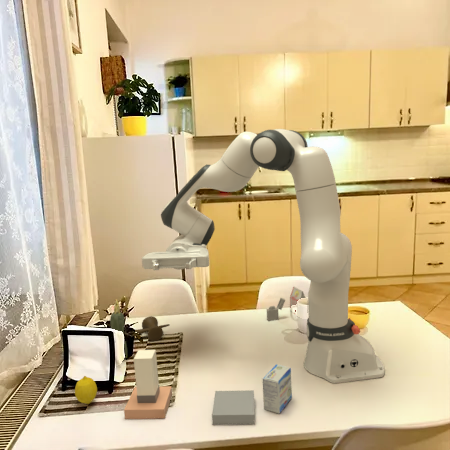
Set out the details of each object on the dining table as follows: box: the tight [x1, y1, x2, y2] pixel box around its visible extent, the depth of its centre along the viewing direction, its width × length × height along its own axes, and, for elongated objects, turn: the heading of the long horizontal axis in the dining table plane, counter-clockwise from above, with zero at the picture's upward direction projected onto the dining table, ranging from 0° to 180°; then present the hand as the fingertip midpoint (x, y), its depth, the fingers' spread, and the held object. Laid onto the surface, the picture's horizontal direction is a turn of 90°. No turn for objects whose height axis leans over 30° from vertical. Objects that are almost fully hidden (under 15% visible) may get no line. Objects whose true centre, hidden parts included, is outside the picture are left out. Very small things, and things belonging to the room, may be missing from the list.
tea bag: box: [289, 286, 307, 312], centre depth 161 cm, size 4×7×10 cm, turn 21°
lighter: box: [266, 297, 286, 322], centre depth 157 cm, size 7×2×8 cm, turn 105°
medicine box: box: [261, 363, 293, 415], centre depth 105 cm, size 8×4×9 cm, turn 148°
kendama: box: [134, 315, 171, 342], centre depth 147 cm, size 6×10×20 cm
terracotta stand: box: [123, 385, 173, 420], centre depth 107 cm, size 10×10×2 cm
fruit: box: [74, 375, 98, 405], centre depth 109 cm, size 6×6×8 cm
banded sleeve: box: [133, 349, 160, 403], centre depth 106 cm, size 5×5×12 cm
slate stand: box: [211, 389, 256, 426], centre depth 103 cm, size 10×10×2 cm
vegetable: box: [109, 298, 128, 357], centre depth 130 cm, size 4×4×20 cm
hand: (171, 267), depth 118 cm, fingers open, 8 cm apart
